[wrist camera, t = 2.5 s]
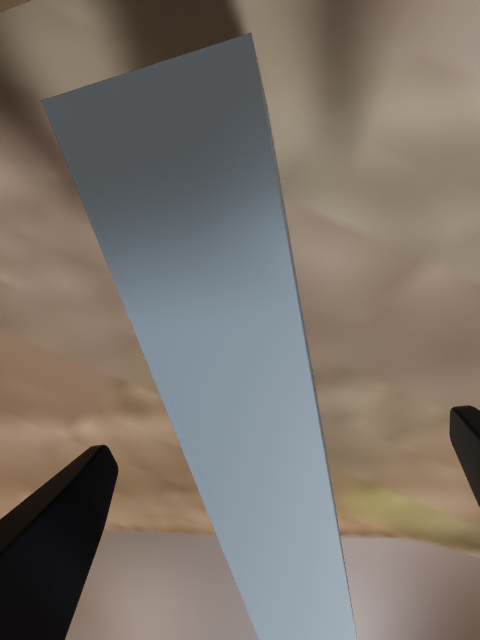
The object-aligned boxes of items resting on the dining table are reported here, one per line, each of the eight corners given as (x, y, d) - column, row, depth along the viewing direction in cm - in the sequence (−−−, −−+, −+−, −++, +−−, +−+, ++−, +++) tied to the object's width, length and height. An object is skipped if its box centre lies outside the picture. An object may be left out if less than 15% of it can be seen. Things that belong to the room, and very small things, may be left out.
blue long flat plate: (267, 105, 11) (251, 33, 4) (327, 456, 18) (360, 658, 11) (181, 130, 12) (41, 100, 5) (270, 461, 19) (266, 657, 11)
